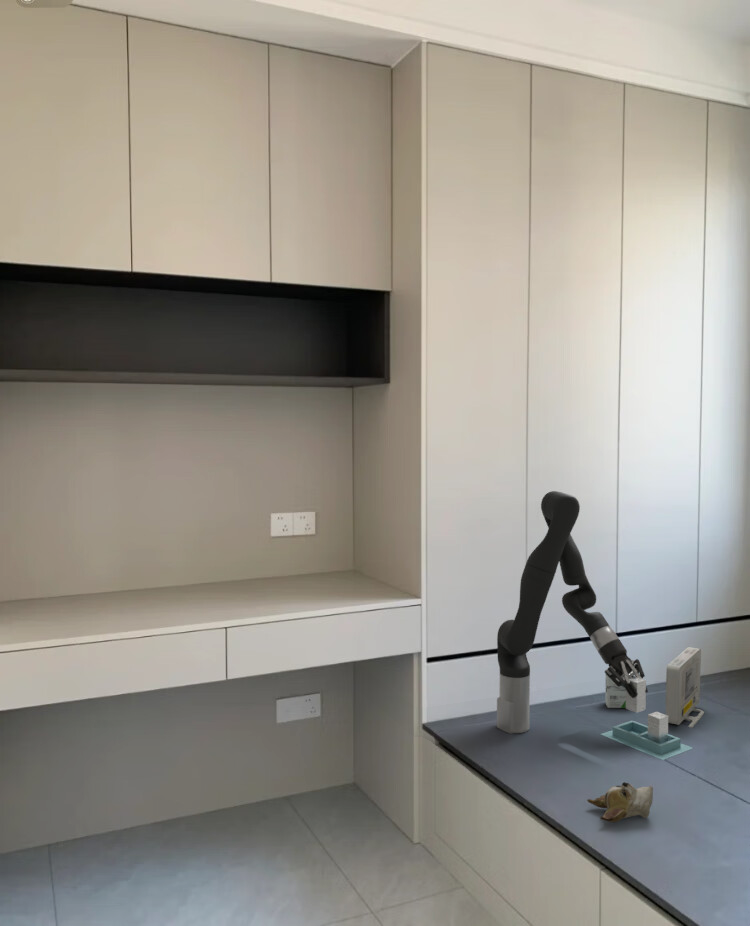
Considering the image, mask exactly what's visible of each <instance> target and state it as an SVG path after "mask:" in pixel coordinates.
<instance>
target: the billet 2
mask: <svg viewBox="0 0 750 926" xmlns="http://www.w3.org/2000/svg"><path fill="white" fill-rule="evenodd" d="M647 726H648V731H647V739H649V740H651V741H654V742H656V743H659V744H662V743H664V742H667V741H668V734H669V723H668V716H667V715H666V714H664V713H661V712H659V711H654V712H651V713H648V714H647Z"/></svg>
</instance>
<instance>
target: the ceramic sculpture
mask: <svg viewBox="0 0 750 926" xmlns="http://www.w3.org/2000/svg"><path fill="white" fill-rule="evenodd" d="M653 796H654V787H653V786H652V785H650V786H641V787H638V788H635V786H634V785H632V784H631V783H629V782H622V784H621V785H615V786H611V787H609V789H607V791H606V792H605V793H604V794H603V795H601V796H599V797H597V798H595V799H590V798H589V799H587V802H588V803H590V804H591V805H593V806H595V807H598V808H601V809H606V811H605V812H604V813H603V815H602V816H600V817H599V819H600V820H601V821H606V822H609V823H610V822H611V823H616V822H619V821H620V820H623V819H627V818H630V817H636V816H641V817H642V818H644V819H647V818H648V817H649V815H650V809H651V808H652V804H653V801H654V800H653V799H654V797H653Z"/></svg>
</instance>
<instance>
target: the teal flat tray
mask: <svg viewBox="0 0 750 926" xmlns="http://www.w3.org/2000/svg"><path fill="white" fill-rule="evenodd" d="M647 731H648V725H645V724H643V723H640V722H638V721H634V720H632V719H631V720H629V721H626V722H623V723H621V724H617V725H614V726H612V730H609V731H606V732H602V733H600V736H603V737H606V738H608V739H611V740H613V741H615V742H618V743H621V744H623V745H625V746H628V747H629V748H632V749H634V750H637V751H639V752H642V753H644V754H646V755H649V756H651V757H655V758H657V759H659V760H662V761H664V760H667V759H669V758H672V757H674V756H676V755H680V754H682V753H685V752H688V751H691V750H692V749H694V748H693V747H691V746H689V745H686V744H685V743H684V744H683V743H682V741H681V740H682V739H681V738H680V737H677V736H674V735H672V734H669V733H668V741H667V742H664V743H662V744H659V743H656V742H654V741H651V740H649V739H647Z"/></svg>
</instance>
